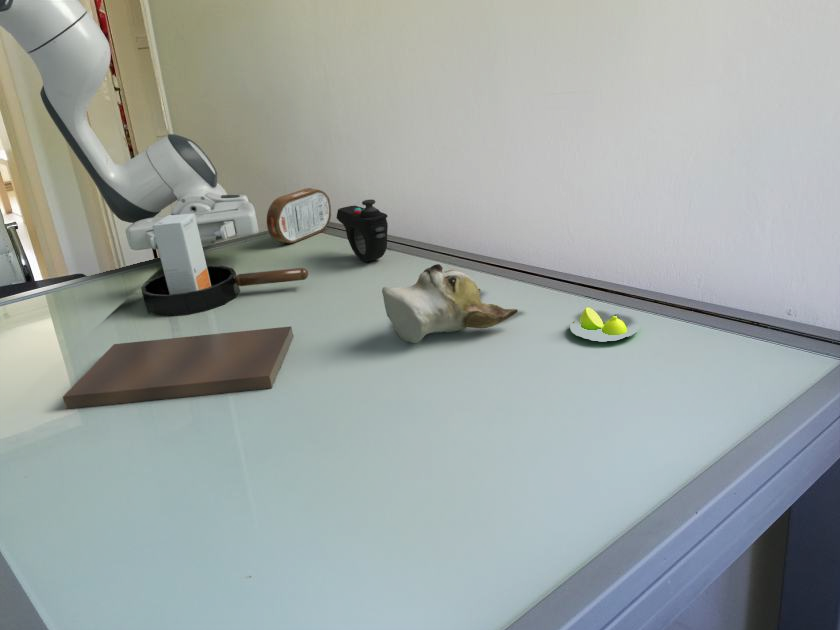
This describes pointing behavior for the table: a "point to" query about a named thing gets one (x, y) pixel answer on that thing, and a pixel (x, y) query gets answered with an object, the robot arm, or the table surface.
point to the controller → (365, 230)
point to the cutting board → (183, 367)
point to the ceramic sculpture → (439, 305)
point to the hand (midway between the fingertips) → (188, 239)
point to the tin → (298, 215)
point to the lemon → (594, 322)
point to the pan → (210, 290)
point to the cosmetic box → (181, 253)
